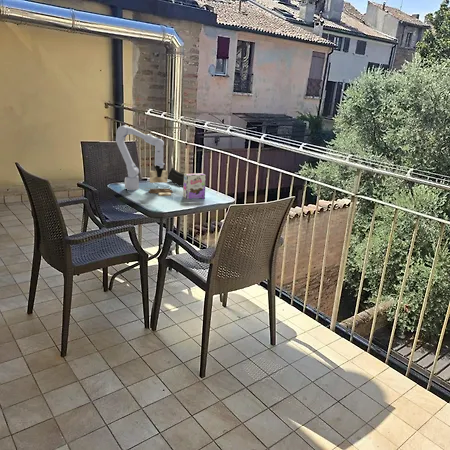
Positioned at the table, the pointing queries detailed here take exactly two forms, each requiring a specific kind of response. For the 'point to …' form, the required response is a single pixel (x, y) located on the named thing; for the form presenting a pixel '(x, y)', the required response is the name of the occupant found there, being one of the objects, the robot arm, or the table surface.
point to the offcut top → (164, 194)
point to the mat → (149, 188)
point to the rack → (160, 191)
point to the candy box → (194, 185)
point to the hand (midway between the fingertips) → (158, 176)
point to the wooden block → (156, 179)
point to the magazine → (176, 177)
